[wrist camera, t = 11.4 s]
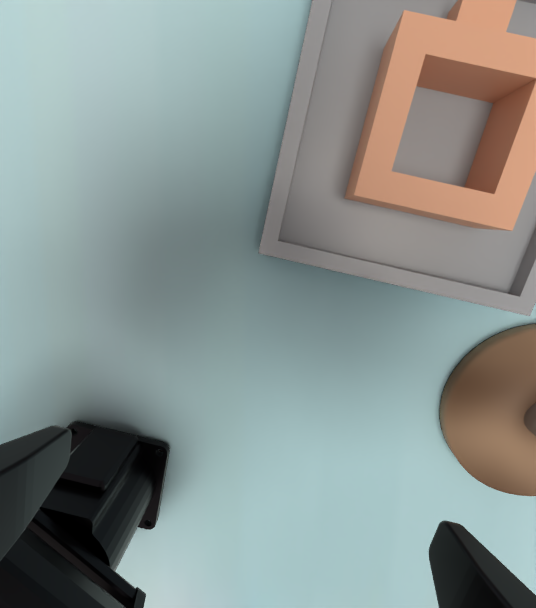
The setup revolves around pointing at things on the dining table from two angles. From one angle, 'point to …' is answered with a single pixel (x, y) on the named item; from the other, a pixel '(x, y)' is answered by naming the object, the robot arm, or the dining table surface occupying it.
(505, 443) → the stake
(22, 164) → the dining table surface
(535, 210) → the tray
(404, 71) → the ring
